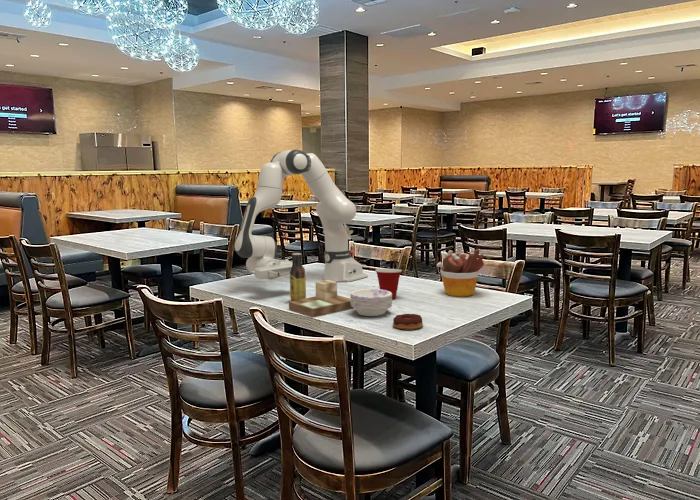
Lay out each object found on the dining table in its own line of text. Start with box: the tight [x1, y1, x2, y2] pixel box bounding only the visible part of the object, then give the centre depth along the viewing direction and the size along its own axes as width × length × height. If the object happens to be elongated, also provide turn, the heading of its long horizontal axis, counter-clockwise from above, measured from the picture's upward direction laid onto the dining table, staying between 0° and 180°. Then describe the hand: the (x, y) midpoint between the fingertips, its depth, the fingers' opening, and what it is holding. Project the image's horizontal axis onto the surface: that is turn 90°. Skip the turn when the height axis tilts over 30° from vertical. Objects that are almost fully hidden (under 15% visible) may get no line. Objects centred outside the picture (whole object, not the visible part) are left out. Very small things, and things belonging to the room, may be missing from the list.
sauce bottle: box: [289, 252, 307, 301], centre depth 214 cm, size 7×6×20 cm
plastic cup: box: [374, 268, 403, 300], centre depth 219 cm, size 11×11×12 cm
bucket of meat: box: [436, 248, 485, 298], centre depth 222 cm, size 20×16×20 cm
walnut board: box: [288, 294, 355, 319], centre depth 204 cm, size 20×16×3 cm
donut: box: [392, 313, 424, 331], centre depth 178 cm, size 10×10×4 cm
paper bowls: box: [349, 288, 393, 317], centre depth 196 cm, size 15×15×8 cm
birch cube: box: [314, 280, 338, 300], centre depth 210 cm, size 6×6×6 cm
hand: (287, 273), depth 219 cm, fingers open, 8 cm apart
